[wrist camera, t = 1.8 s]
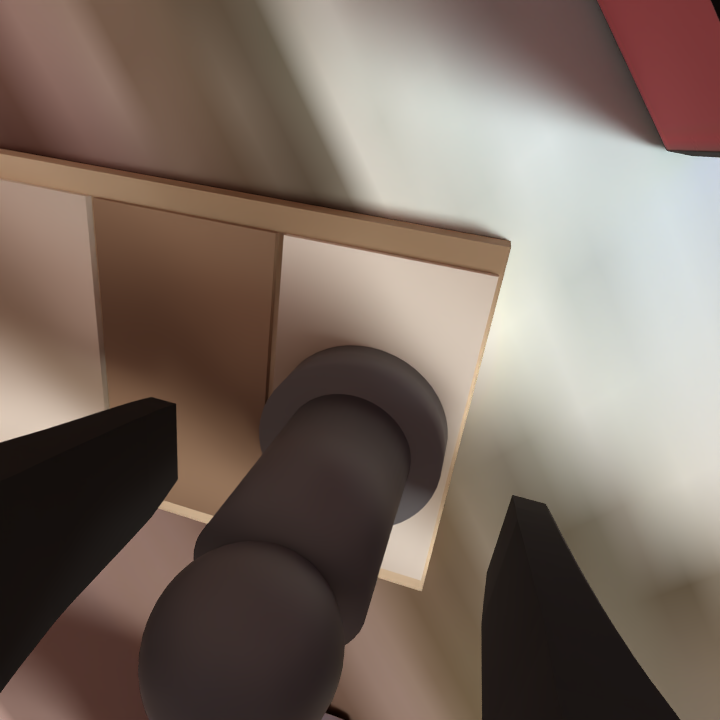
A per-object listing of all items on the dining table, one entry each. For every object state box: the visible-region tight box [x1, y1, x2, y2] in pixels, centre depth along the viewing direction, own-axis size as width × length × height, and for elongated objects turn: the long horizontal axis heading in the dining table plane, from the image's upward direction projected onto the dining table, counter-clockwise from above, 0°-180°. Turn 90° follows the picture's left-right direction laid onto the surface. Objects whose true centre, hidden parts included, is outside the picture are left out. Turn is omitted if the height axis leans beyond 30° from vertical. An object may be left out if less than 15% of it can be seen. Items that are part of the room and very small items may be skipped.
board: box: [0, 148, 511, 591], centre depth 15 cm, size 10×25×1 cm, turn 83°
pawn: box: [138, 345, 448, 720], centre depth 9 cm, size 4×4×8 cm
